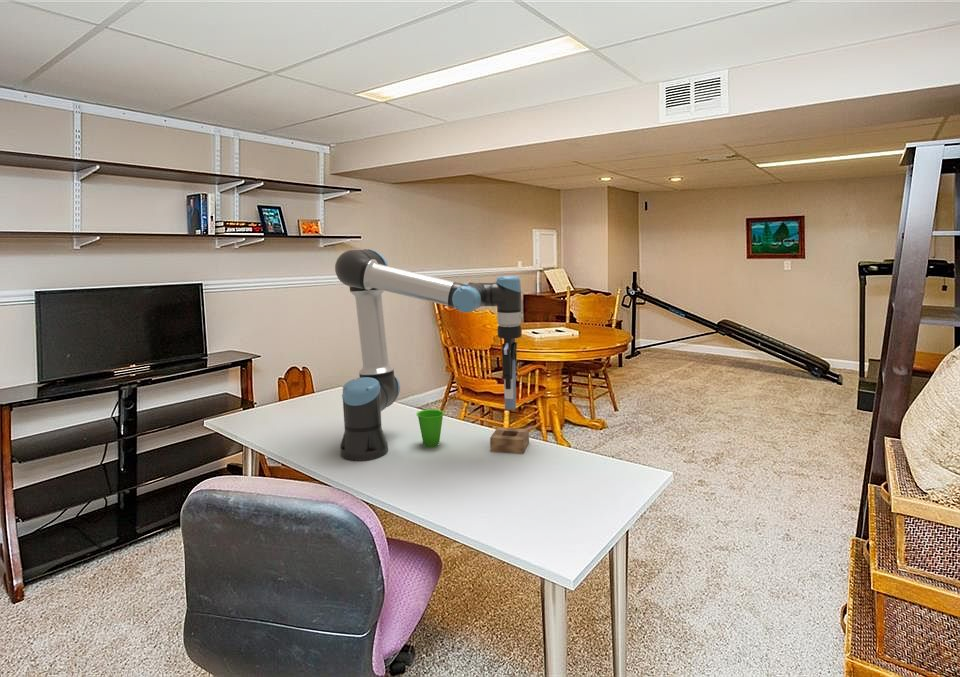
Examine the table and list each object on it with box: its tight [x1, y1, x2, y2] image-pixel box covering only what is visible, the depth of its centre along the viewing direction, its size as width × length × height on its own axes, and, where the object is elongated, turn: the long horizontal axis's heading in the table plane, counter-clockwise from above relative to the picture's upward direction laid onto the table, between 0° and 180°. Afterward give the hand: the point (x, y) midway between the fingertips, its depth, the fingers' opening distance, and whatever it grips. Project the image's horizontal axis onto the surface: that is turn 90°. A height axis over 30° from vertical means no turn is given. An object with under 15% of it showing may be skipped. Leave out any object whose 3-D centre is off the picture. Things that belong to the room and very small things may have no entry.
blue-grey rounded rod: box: [504, 360, 517, 411], centre depth 179 cm, size 4×4×16 cm
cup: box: [416, 408, 445, 448], centre depth 184 cm, size 9×9×11 cm
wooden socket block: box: [489, 426, 530, 455], centre depth 182 cm, size 11×11×4 cm
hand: (510, 396), depth 180 cm, fingers closed on blue-grey rounded rod, 3 cm apart
